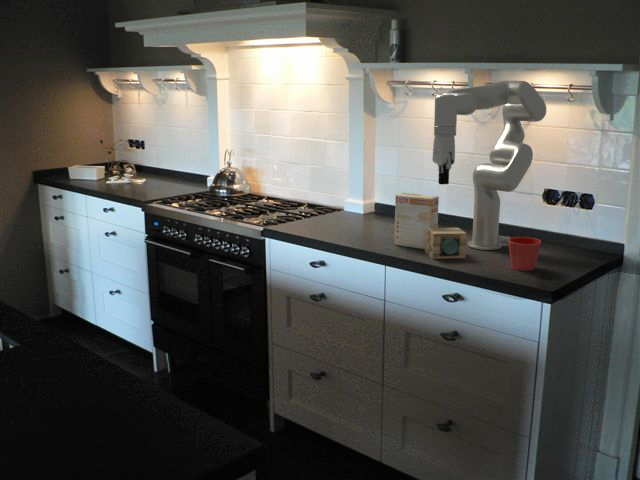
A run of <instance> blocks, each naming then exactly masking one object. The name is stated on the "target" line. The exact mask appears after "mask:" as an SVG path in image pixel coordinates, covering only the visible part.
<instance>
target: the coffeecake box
mask: <svg viewBox="0 0 640 480" xmlns="http://www.w3.org/2000/svg"><path fill="white" fill-rule="evenodd" d="M439 202H440V199H439V196H438V195H437V196H436V195H427V194H418V193H407V192H402V193H398V194H396V195H395V203H394V204H395V205H394V206H395V207H394V209H395V210H394V211H395V212H394V235H393V236H394V238H393V241H394V242H393V245H394V246H401V247H407V248H408V247H409V248H415V249H420V250H425V241H426V228H439V225H438V224H439V223H438V222H439Z"/></svg>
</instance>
